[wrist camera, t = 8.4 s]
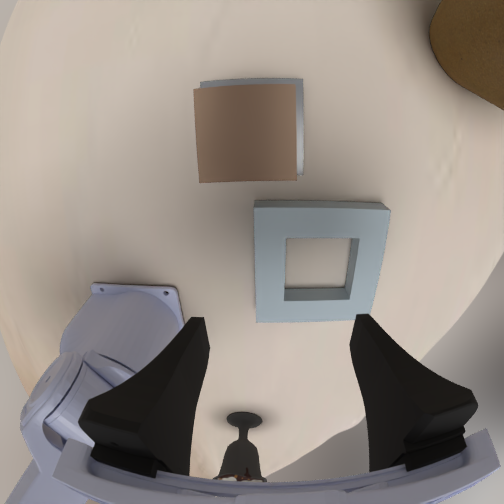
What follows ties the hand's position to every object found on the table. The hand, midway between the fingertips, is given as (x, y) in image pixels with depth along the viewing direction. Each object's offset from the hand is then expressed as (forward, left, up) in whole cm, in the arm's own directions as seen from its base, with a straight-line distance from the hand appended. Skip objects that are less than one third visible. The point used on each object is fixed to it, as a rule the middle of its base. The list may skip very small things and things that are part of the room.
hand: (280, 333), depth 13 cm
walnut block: (-2, +9, -10) cm, 13 cm away
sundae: (-4, -27, -11) cm, 29 cm away
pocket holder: (+3, -2, -10) cm, 11 cm away
